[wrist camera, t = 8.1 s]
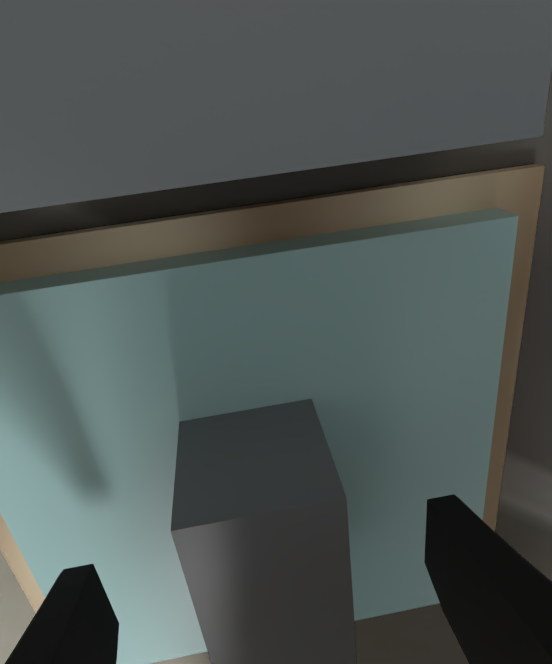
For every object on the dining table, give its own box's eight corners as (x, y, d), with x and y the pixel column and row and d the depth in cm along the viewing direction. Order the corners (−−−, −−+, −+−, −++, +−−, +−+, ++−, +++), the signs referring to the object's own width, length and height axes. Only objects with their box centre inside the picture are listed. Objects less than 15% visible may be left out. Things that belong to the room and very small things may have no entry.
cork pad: (536, 163, 10) (544, 165, 10) (482, 584, 17) (486, 591, 16) (-147, 262, 9) (-157, 267, 9) (74, 668, 16) (71, 678, 15)
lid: (496, 207, 10) (641, 262, 7) (461, 573, 16) (532, 705, 12) (-83, 295, 9) (-245, 406, 6) (92, 648, 15) (59, 811, 11)
